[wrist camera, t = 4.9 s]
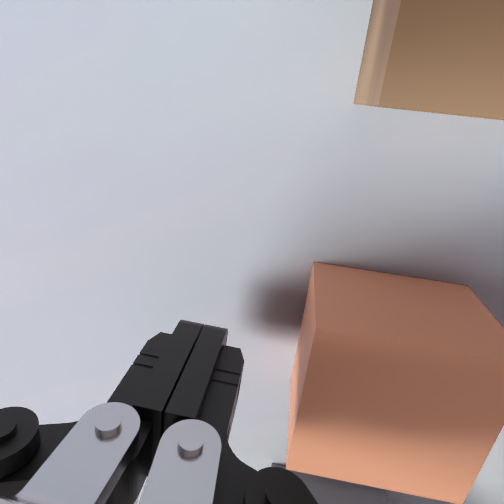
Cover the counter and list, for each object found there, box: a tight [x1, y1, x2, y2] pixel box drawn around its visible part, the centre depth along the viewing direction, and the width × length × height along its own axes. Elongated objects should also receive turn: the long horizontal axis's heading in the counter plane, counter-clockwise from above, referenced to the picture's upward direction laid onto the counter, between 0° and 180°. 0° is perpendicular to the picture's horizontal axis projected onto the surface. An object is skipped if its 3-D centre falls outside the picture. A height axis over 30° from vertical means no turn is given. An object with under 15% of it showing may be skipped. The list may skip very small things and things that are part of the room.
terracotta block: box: [286, 262, 504, 504], centre depth 11 cm, size 5×5×4 cm
